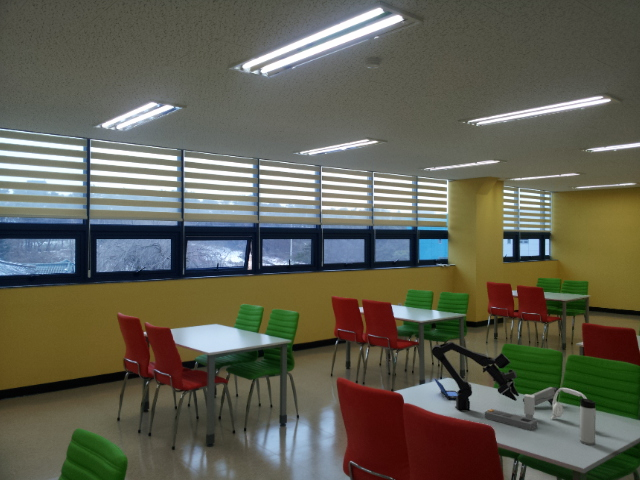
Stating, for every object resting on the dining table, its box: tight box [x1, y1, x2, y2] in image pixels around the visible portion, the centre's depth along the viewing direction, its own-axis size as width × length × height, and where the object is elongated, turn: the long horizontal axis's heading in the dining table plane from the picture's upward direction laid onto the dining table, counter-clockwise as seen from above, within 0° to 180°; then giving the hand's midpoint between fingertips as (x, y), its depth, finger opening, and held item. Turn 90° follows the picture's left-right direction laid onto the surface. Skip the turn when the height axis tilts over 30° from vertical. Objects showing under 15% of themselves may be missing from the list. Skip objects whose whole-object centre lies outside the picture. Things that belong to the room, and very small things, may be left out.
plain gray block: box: [523, 393, 536, 419], centre depth 260 cm, size 5×5×12 cm
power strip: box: [484, 408, 538, 431], centre depth 254 cm, size 24×8×4 cm, turn 45°
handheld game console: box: [434, 378, 458, 401], centre depth 297 cm, size 16×13×9 cm
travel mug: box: [579, 397, 597, 446], centre depth 228 cm, size 6×7×20 cm
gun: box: [522, 386, 560, 407], centre depth 281 cm, size 2×25×10 cm, turn 111°
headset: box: [550, 387, 588, 421], centre depth 252 cm, size 20×7×18 cm, turn 29°
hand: (517, 398), depth 263 cm, fingers open, 9 cm apart
